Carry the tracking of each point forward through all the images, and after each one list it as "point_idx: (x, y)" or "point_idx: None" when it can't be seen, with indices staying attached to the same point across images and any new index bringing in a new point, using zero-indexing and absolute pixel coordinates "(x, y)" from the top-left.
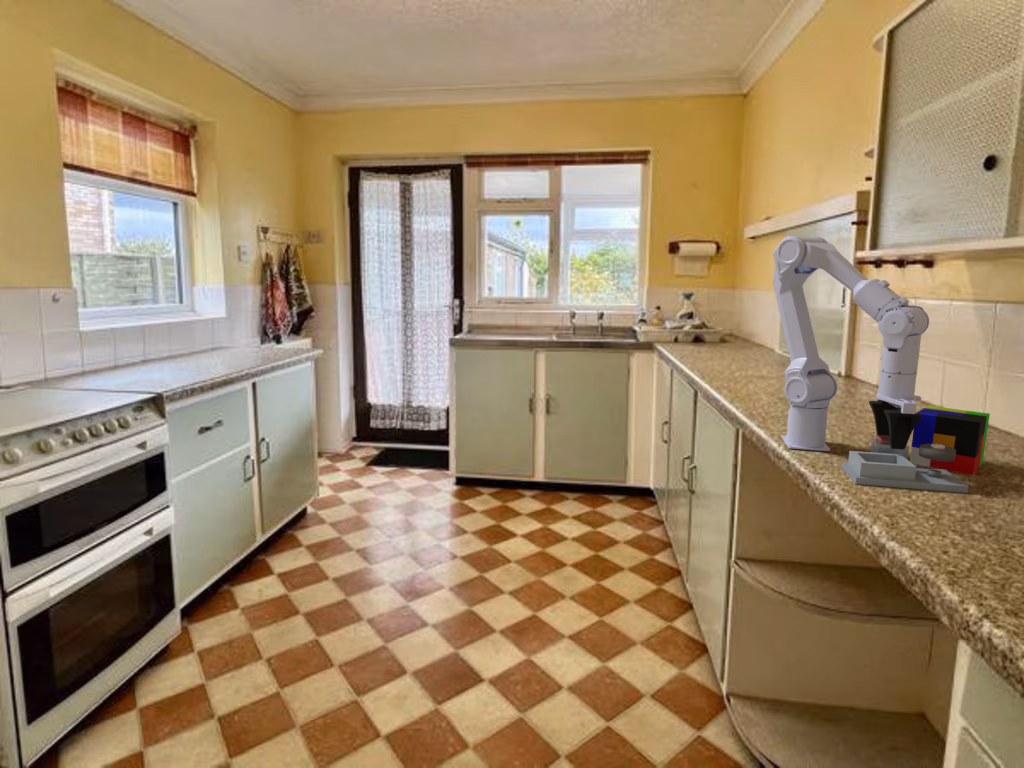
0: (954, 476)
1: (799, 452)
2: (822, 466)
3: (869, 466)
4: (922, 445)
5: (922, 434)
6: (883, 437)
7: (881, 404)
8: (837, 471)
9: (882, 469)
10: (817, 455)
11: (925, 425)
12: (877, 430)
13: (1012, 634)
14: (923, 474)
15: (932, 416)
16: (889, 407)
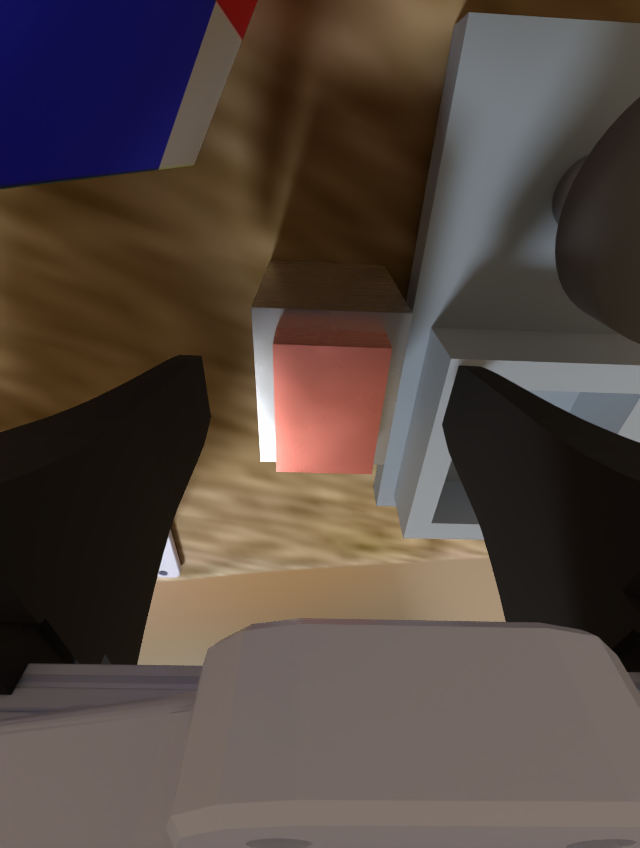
0: (627, 30)
1: (207, 551)
2: (358, 528)
3: None
4: (634, 319)
5: (133, 81)
6: (345, 457)
7: (102, 656)
8: None
9: None
10: (224, 517)
11: (78, 29)
12: (197, 457)
13: None
14: (552, 246)
15: None
16: (92, 576)
